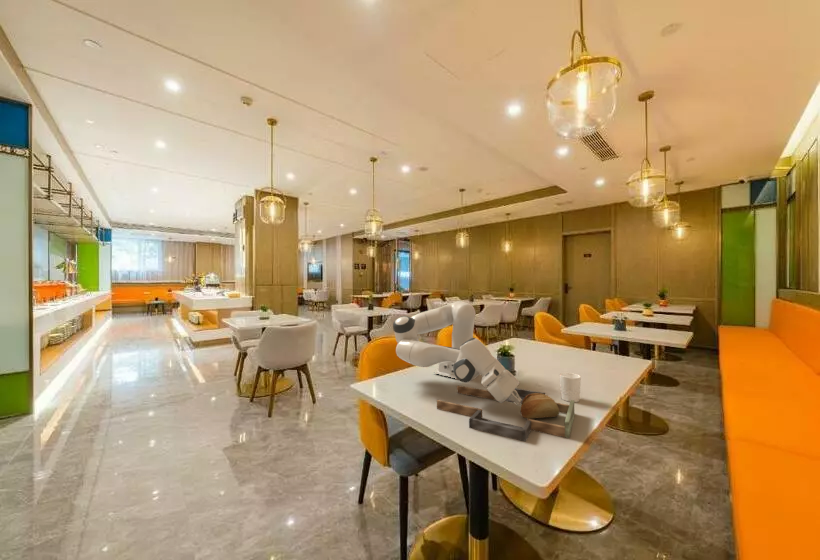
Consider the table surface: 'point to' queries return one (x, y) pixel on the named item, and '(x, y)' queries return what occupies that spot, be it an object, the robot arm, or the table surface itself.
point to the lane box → (504, 428)
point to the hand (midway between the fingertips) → (520, 403)
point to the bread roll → (538, 406)
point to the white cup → (570, 386)
